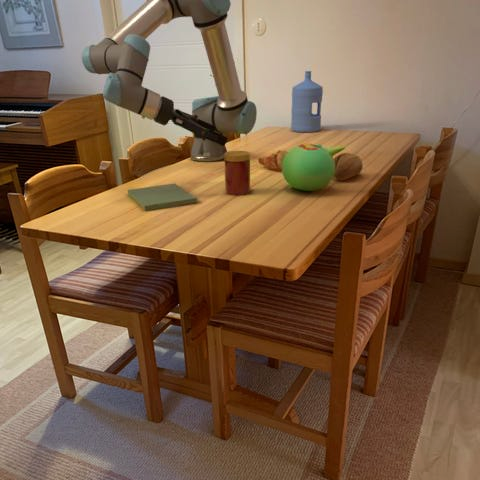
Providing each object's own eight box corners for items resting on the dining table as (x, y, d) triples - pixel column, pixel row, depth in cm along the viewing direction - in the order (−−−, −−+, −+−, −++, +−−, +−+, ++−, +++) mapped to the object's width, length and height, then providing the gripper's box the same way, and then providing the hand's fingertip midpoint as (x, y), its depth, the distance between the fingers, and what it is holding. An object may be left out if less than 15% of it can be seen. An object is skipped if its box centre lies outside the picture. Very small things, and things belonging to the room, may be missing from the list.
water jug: (289, 132, 252) (291, 72, 238) (292, 128, 265) (293, 70, 251) (320, 132, 250) (323, 71, 236) (320, 128, 263) (324, 70, 249)
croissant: (312, 179, 181) (317, 157, 180) (305, 171, 171) (310, 149, 171) (261, 173, 189) (265, 152, 188) (251, 165, 180) (255, 144, 179)
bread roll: (324, 181, 165) (325, 156, 161) (340, 171, 176) (341, 148, 172) (351, 184, 161) (353, 159, 157) (365, 174, 172) (368, 151, 168)
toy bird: (272, 186, 161) (273, 139, 153) (316, 180, 166) (319, 134, 159) (299, 199, 146) (301, 149, 139) (346, 192, 152) (350, 143, 144)
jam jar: (221, 190, 157) (219, 154, 152) (243, 187, 160) (242, 151, 155) (231, 196, 151) (230, 158, 145) (254, 193, 154) (254, 155, 148)
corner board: (128, 194, 156) (127, 189, 155) (175, 187, 162) (174, 183, 161) (145, 211, 140) (144, 205, 139) (197, 202, 146) (196, 198, 145)
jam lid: (220, 158, 152) (220, 152, 151) (242, 155, 155) (242, 149, 154) (230, 162, 146) (230, 156, 145) (253, 160, 149) (253, 153, 148)
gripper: (146, 111, 154) (205, 137, 164) (159, 131, 135) (225, 159, 145) (154, 87, 151) (214, 115, 161) (169, 104, 132) (236, 134, 142)
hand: (220, 136), depth 153 cm, fingers open, 13 cm apart
